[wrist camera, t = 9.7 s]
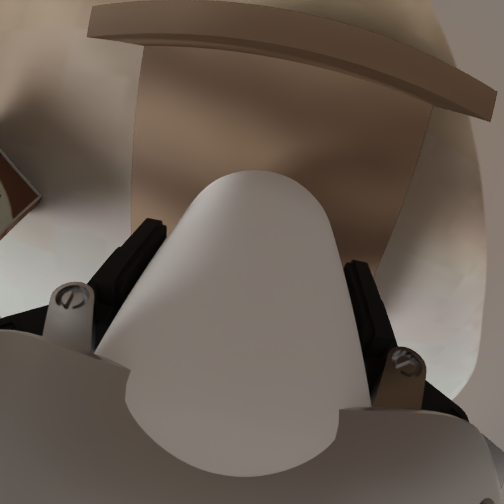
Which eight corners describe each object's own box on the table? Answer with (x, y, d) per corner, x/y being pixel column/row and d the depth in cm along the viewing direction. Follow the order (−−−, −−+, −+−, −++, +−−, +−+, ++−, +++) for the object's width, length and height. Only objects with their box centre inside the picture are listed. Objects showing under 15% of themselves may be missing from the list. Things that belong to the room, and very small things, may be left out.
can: (355, 255, 14) (419, 538, 4) (244, 314, 16) (201, 552, 6) (274, 135, 12) (203, 512, 1) (158, 221, 14) (1, 465, 4)
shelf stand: (175, 33, 15) (92, 6, 7) (408, 82, 15) (497, 91, 7) (154, 282, 24) (107, 369, 16) (329, 317, 24) (340, 415, 16)
